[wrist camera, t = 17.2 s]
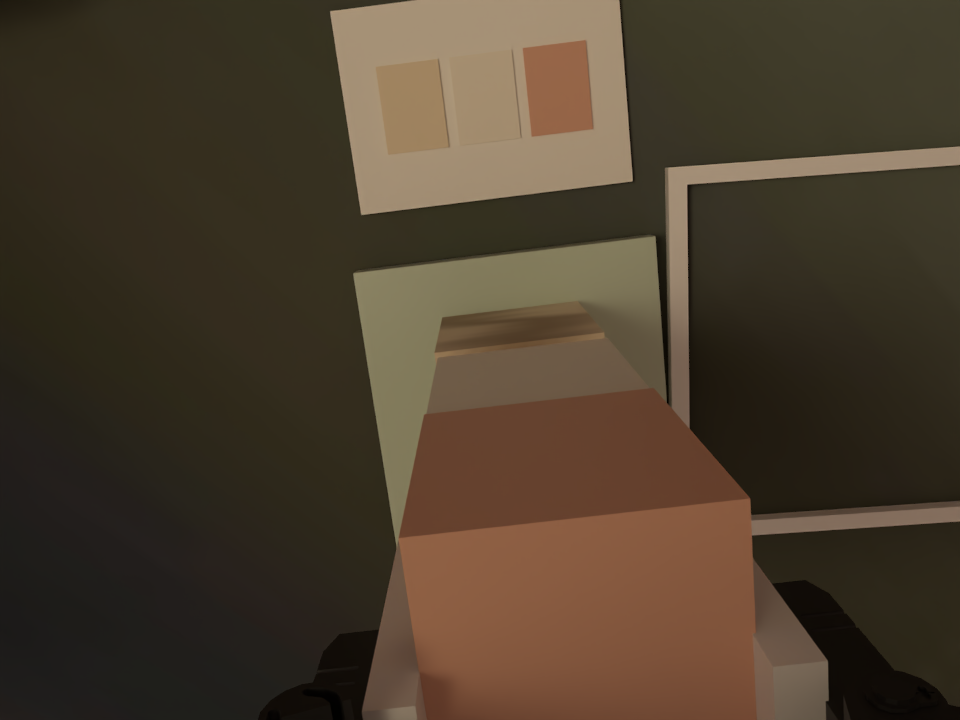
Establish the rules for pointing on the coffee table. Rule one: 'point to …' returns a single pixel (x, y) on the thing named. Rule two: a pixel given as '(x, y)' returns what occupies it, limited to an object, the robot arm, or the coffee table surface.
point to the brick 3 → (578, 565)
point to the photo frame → (680, 325)
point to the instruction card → (482, 99)
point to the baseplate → (484, 288)
